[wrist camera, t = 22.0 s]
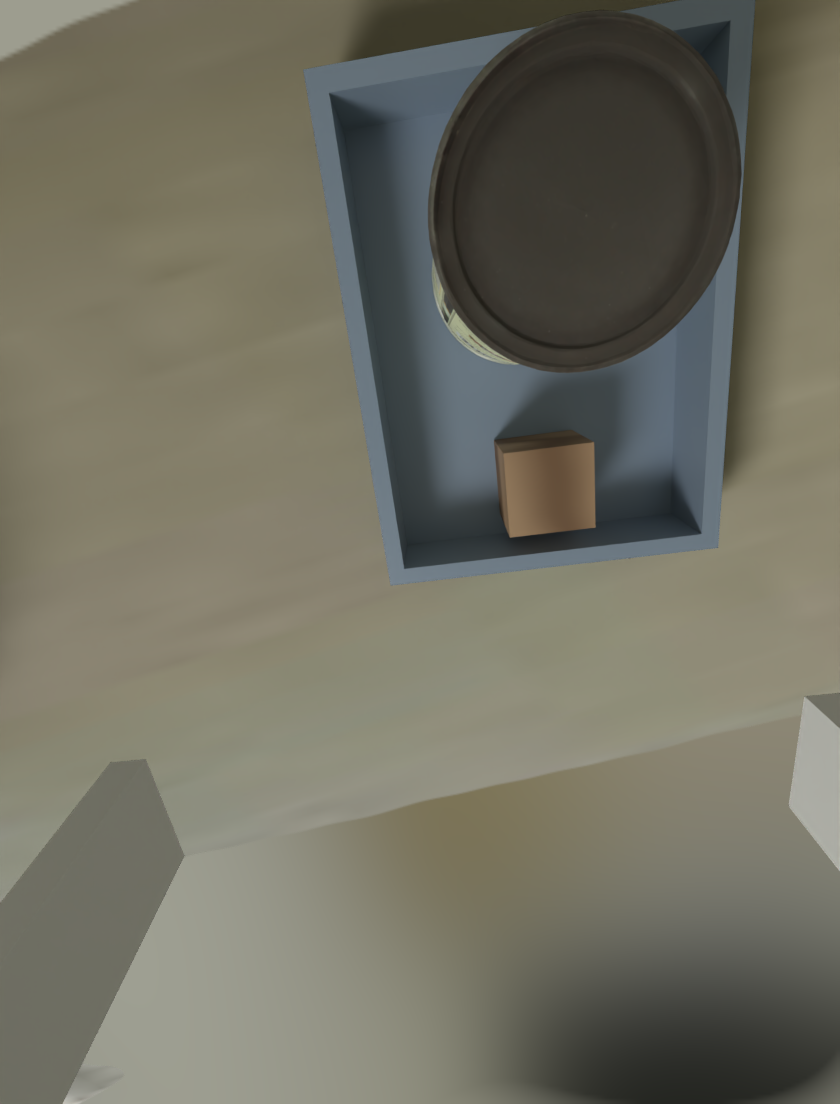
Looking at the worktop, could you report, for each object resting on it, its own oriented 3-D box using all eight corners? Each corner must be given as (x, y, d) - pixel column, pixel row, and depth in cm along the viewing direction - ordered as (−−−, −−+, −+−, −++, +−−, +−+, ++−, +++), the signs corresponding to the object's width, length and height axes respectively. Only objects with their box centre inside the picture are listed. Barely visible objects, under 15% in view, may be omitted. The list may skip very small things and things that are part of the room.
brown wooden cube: (499, 513, 36) (510, 537, 31) (493, 439, 34) (503, 453, 29) (574, 504, 35) (595, 527, 31) (571, 429, 34) (594, 442, 29)
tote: (395, 556, 38) (390, 585, 33) (324, 115, 29) (303, 69, 24) (681, 522, 36) (717, 547, 32) (700, 48, 27) (756, -14, 23)
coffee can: (621, 166, 29) (781, 8, 16) (594, 366, 32) (705, 376, 19) (432, 162, 29) (432, 3, 16) (427, 362, 32) (423, 369, 19)
